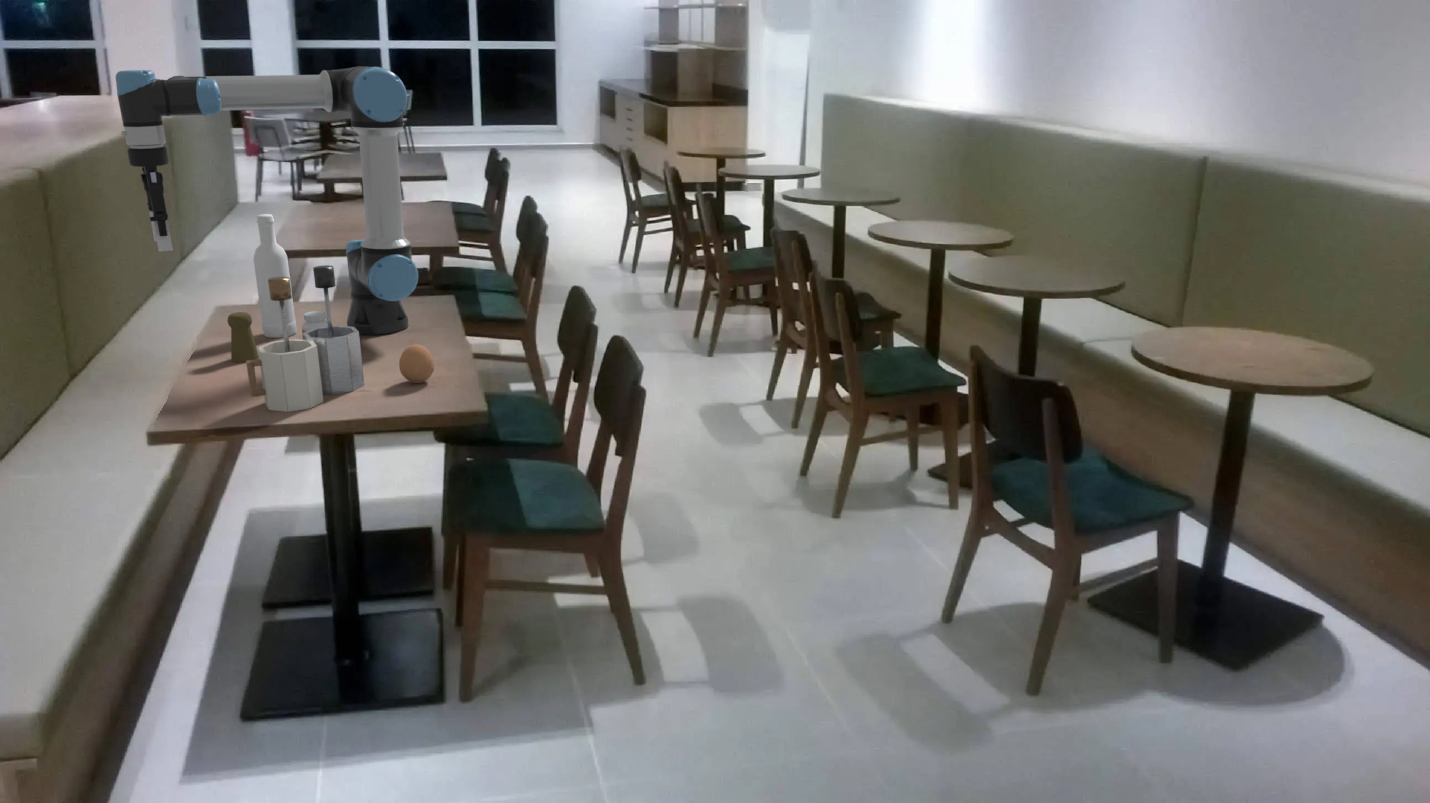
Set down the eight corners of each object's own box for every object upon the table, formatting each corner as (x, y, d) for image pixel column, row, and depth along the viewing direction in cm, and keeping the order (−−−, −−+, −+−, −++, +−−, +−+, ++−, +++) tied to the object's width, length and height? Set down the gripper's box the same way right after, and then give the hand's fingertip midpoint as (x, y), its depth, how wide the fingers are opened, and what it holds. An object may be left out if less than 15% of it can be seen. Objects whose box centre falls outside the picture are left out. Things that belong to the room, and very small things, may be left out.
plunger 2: (345, 344, 239) (336, 262, 233) (352, 351, 233) (343, 268, 228) (313, 348, 236) (303, 266, 230) (319, 356, 230) (309, 272, 224)
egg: (406, 377, 243) (403, 340, 241) (439, 377, 243) (436, 340, 240) (396, 387, 236) (392, 349, 234) (430, 387, 236) (427, 349, 233)
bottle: (300, 335, 276) (285, 215, 267) (267, 339, 272) (251, 218, 263) (292, 328, 283) (277, 211, 273) (260, 332, 278) (244, 214, 269)
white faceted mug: (316, 391, 234) (309, 337, 230) (326, 405, 225) (320, 349, 221) (249, 401, 227) (241, 345, 223) (257, 416, 218) (249, 358, 215)
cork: (249, 363, 253) (242, 316, 250) (225, 361, 254) (218, 315, 251) (264, 356, 259) (258, 310, 255) (241, 354, 260) (234, 309, 257)
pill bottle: (301, 363, 253) (296, 316, 250) (310, 355, 259) (304, 310, 256) (329, 363, 254) (323, 316, 250) (337, 355, 259) (331, 310, 256)
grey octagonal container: (356, 375, 244) (350, 323, 240) (368, 388, 235) (362, 334, 231) (293, 385, 238) (286, 331, 234) (303, 398, 229) (296, 343, 225)
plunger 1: (303, 358, 228) (293, 273, 223) (310, 366, 223) (299, 280, 217) (269, 363, 225) (257, 277, 219) (275, 371, 220) (263, 284, 214)
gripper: (124, 142, 241) (140, 238, 248) (129, 152, 221) (147, 257, 227) (161, 140, 245) (177, 235, 252) (170, 150, 224) (187, 253, 231)
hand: (163, 245), depth 240 cm, fingers open, 13 cm apart
